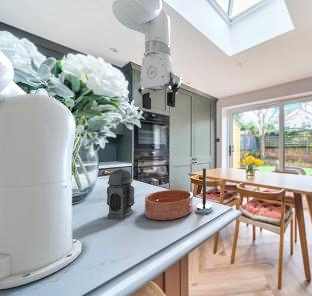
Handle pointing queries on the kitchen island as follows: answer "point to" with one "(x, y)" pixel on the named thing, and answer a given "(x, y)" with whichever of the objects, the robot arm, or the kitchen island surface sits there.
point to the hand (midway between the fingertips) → (158, 107)
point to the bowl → (168, 204)
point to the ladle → (204, 198)
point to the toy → (120, 194)
